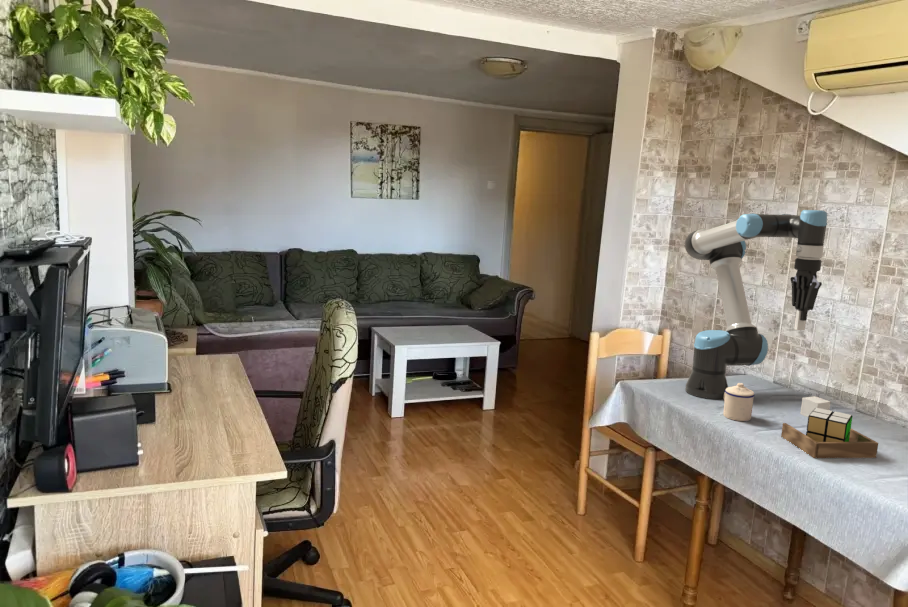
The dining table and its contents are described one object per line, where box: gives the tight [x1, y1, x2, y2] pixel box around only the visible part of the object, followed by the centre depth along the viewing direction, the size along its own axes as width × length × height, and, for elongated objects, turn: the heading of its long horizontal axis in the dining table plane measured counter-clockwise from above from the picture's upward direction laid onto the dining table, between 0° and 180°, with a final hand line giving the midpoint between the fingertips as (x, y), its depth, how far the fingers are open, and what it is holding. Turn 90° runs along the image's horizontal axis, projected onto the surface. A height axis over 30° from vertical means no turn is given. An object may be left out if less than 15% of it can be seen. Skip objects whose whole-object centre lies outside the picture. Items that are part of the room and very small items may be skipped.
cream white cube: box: [800, 395, 831, 418], centre depth 218 cm, size 6×6×6 cm
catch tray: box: [780, 422, 879, 459], centre depth 191 cm, size 16×19×4 cm
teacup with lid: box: [722, 382, 756, 422], centre depth 216 cm, size 12×9×12 cm
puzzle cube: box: [805, 408, 853, 442], centre depth 191 cm, size 10×10×10 cm
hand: (799, 329), depth 211 cm, fingers closed
